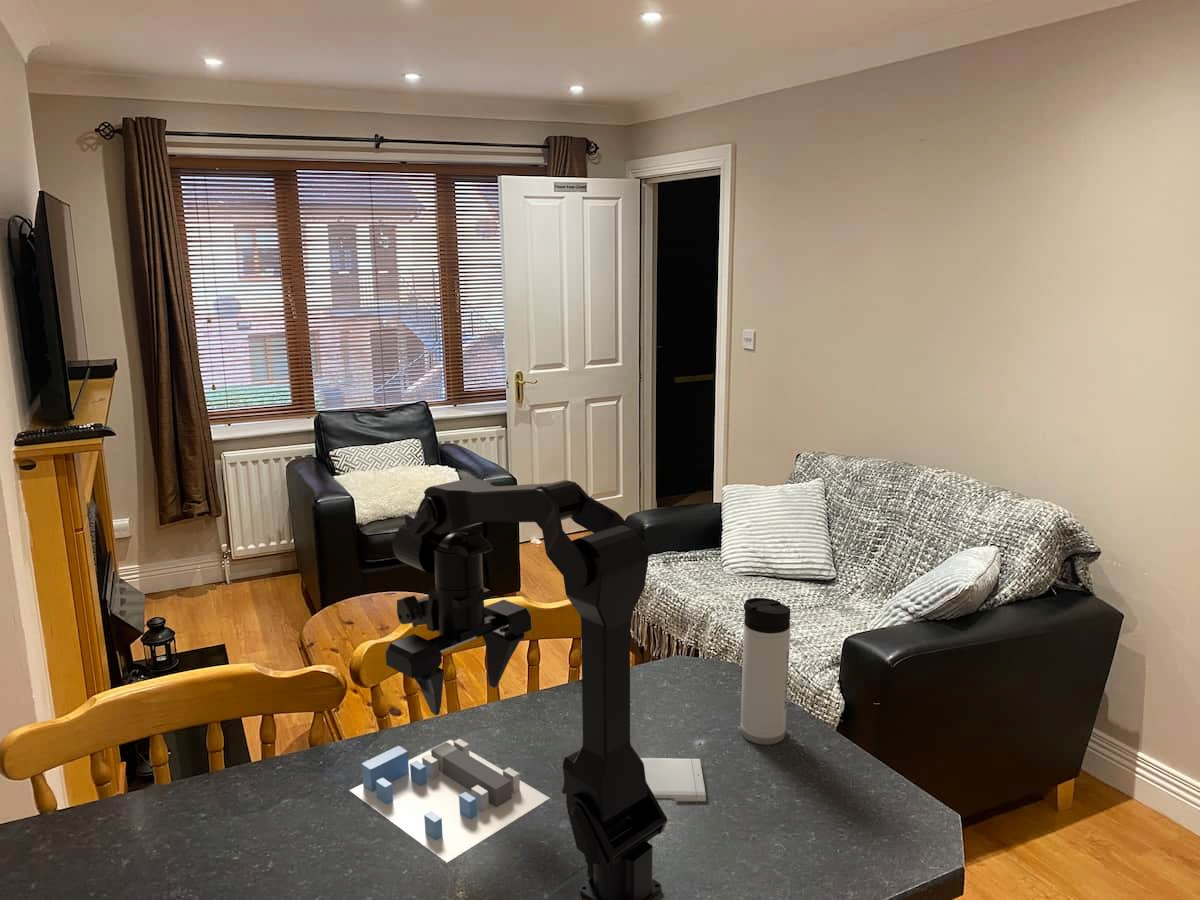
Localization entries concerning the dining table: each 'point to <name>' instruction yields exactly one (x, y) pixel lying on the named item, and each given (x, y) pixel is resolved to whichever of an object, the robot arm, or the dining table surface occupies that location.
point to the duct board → (440, 800)
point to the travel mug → (765, 670)
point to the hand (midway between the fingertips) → (465, 699)
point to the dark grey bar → (472, 773)
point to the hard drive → (675, 778)
